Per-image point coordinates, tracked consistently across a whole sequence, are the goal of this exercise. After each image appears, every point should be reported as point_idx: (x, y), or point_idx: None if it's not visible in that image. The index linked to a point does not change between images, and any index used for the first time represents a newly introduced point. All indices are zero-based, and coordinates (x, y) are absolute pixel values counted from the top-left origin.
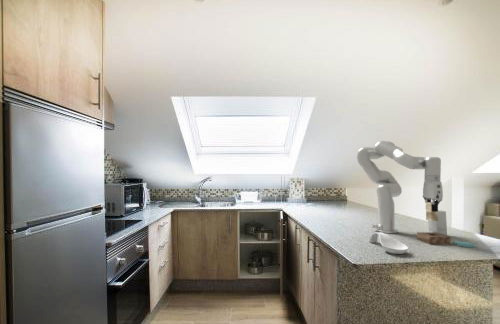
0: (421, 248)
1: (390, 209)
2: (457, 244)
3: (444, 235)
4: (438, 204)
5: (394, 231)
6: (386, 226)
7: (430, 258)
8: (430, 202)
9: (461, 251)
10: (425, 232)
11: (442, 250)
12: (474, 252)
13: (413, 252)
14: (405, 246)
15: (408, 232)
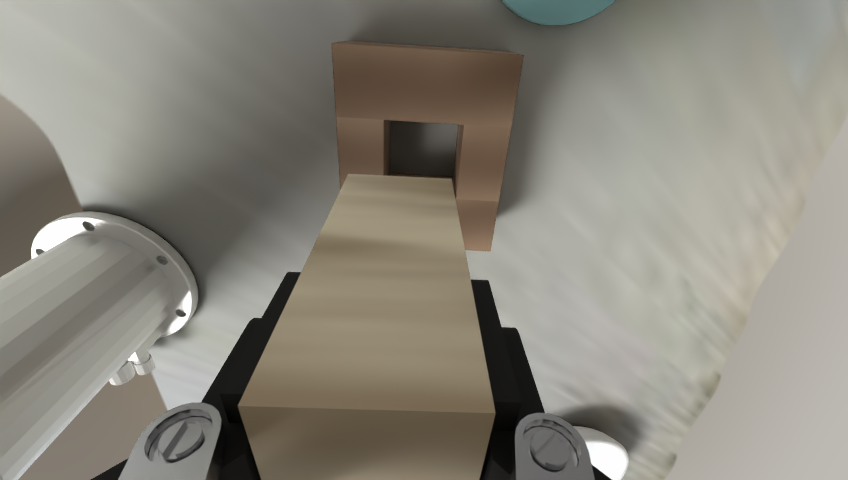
0: (547, 321)
1: (4, 452)
2: (562, 24)
3: (463, 73)
4: (561, 420)
5: (179, 269)
6: (150, 331)
7: (683, 378)
8: (305, 475)
9: (678, 138)
10: (340, 172)
11: (614, 243)
12: (739, 54)
13: (590, 388)
14: (592, 442)
15: (114, 130)
